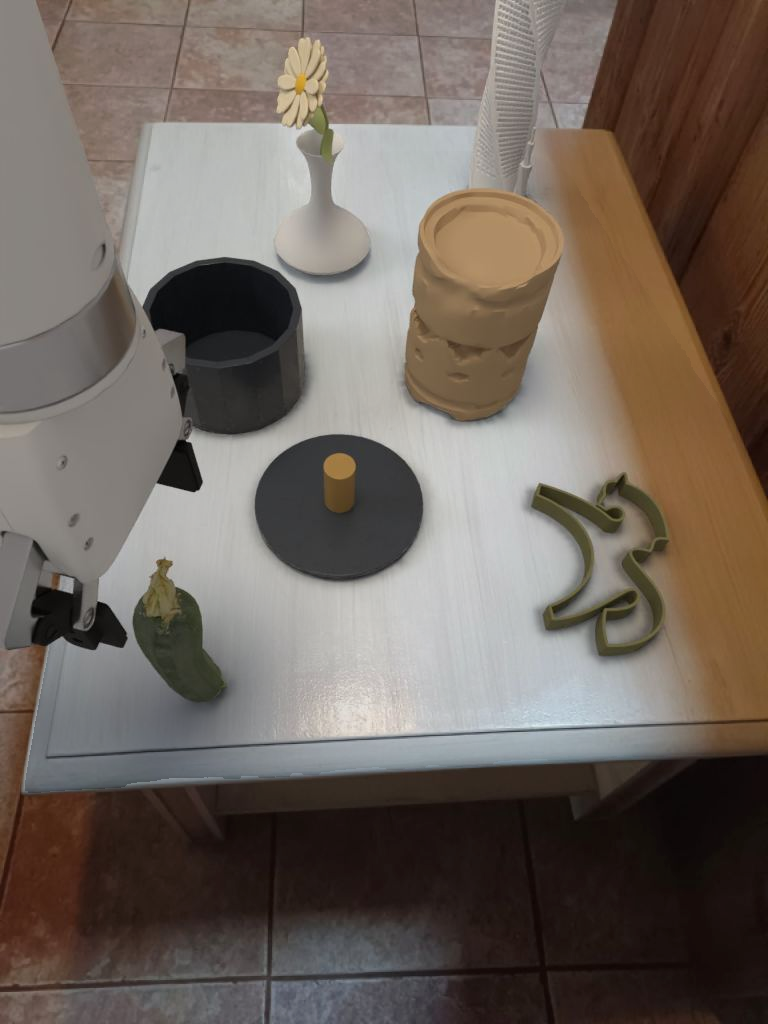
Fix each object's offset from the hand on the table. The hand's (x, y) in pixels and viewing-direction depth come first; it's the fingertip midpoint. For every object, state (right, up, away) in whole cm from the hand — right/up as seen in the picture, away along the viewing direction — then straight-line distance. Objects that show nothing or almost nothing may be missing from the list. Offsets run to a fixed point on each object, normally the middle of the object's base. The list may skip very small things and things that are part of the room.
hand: (139, 554), depth 39 cm
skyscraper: (+27, +42, +55) cm, 74 cm away
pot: (-3, +16, +37) cm, 40 cm away
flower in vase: (+6, +33, +48) cm, 58 cm away
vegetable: (-2, -12, +19) cm, 23 cm away
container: (+21, +17, +39) cm, 47 cm away
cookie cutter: (+33, -2, +28) cm, 43 cm away
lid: (+9, +3, +29) cm, 30 cm away
